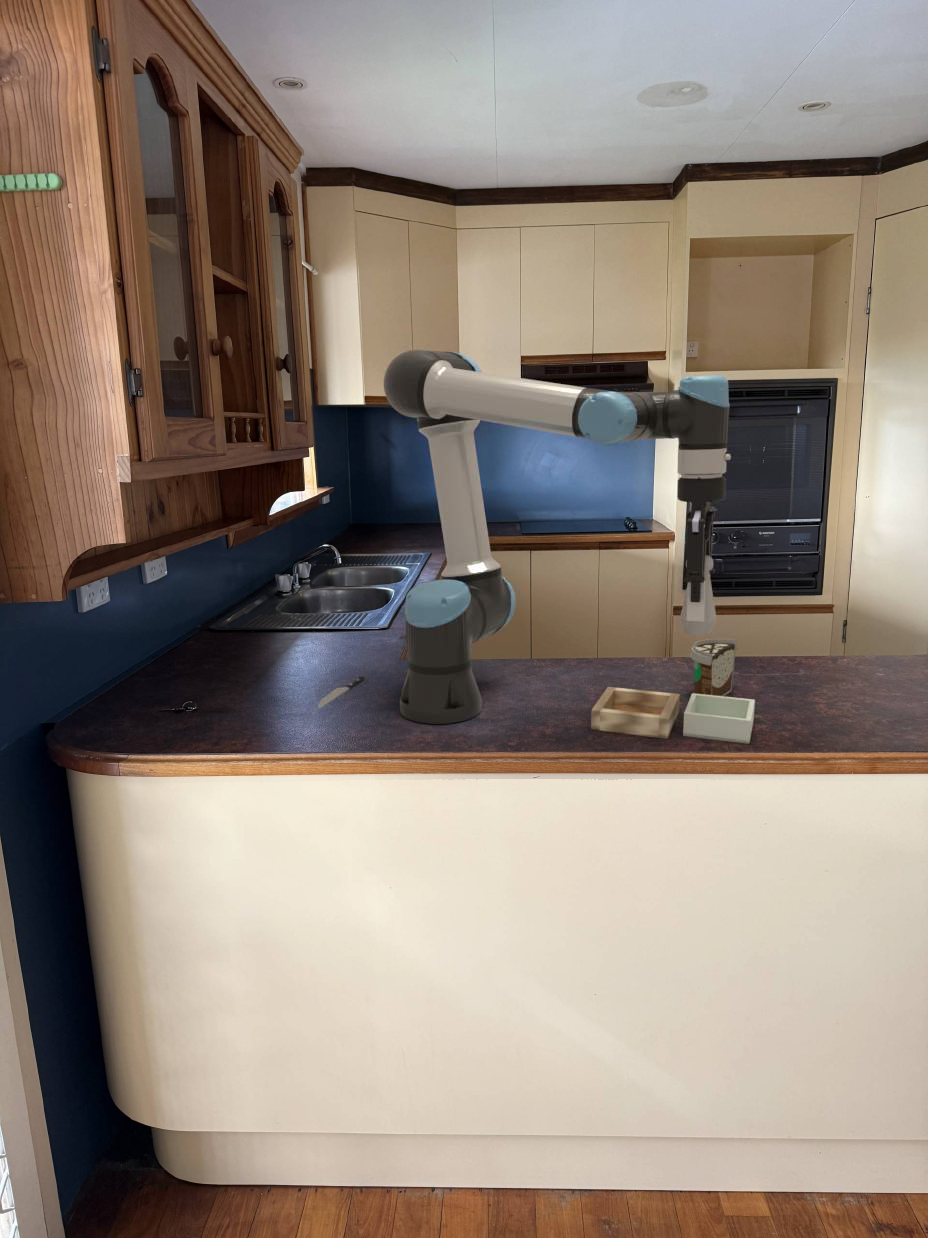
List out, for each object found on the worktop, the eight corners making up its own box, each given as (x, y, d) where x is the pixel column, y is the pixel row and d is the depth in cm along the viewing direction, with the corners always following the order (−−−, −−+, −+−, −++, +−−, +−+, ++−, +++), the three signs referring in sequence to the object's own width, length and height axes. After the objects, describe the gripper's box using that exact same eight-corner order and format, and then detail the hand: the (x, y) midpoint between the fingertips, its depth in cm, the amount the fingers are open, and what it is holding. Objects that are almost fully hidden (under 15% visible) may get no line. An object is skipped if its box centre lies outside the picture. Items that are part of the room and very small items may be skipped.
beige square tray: (591, 729, 144) (591, 710, 143) (607, 704, 155) (608, 686, 155) (667, 739, 139) (668, 719, 138) (678, 712, 151) (679, 694, 150)
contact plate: (603, 723, 145) (603, 721, 145) (615, 705, 153) (615, 703, 153) (658, 730, 141) (658, 727, 141) (667, 711, 150) (667, 709, 149)
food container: (704, 682, 166) (706, 634, 164) (734, 688, 162) (737, 639, 160) (677, 700, 157) (679, 649, 155) (708, 706, 153) (710, 654, 151)
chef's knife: (303, 711, 157) (317, 712, 156) (302, 705, 157) (316, 706, 156) (353, 679, 174) (365, 680, 173) (352, 674, 174) (365, 675, 173)
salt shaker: (686, 626, 144) (687, 551, 141) (719, 629, 141) (722, 553, 138) (675, 634, 139) (677, 557, 136) (710, 638, 136) (712, 559, 133)
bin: (682, 735, 140) (684, 713, 139) (691, 714, 150) (692, 693, 149) (749, 743, 136) (750, 720, 135) (753, 721, 146) (754, 699, 145)
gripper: (719, 480, 124) (715, 631, 129) (731, 470, 141) (727, 604, 146) (668, 481, 127) (665, 628, 132) (686, 471, 144) (683, 602, 149)
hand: (698, 615), depth 139 cm, fingers closed on salt shaker, 6 cm apart
